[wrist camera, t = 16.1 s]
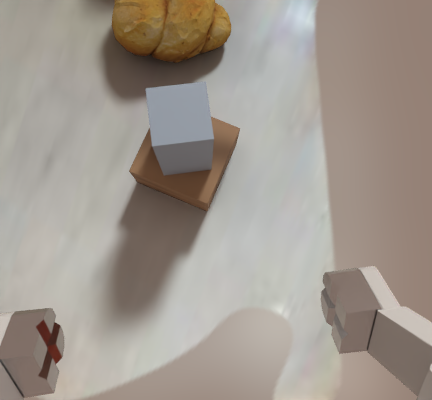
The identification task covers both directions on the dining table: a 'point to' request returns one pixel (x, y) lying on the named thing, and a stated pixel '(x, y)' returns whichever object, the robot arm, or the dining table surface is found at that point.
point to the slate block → (181, 127)
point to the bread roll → (170, 27)
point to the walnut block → (192, 181)
